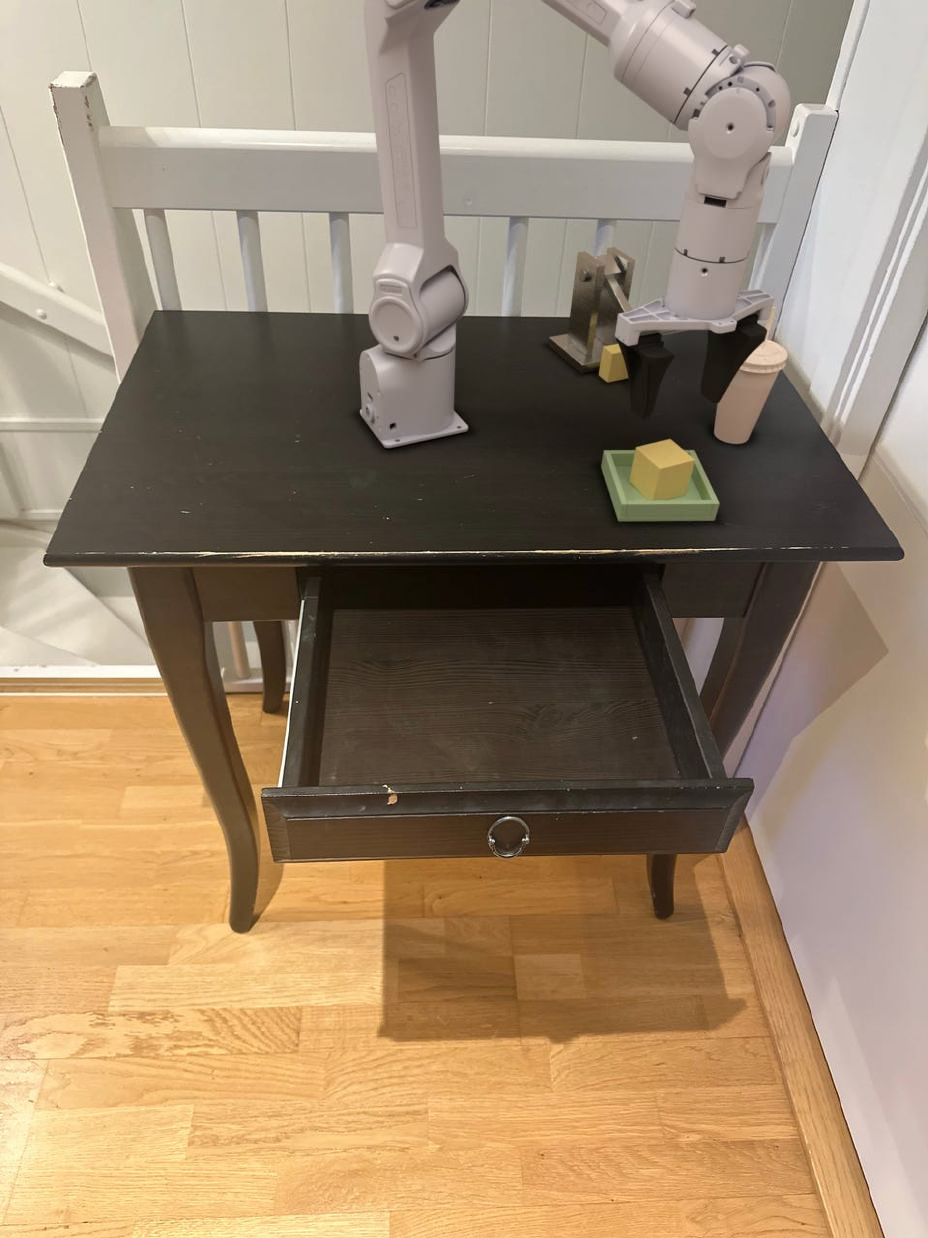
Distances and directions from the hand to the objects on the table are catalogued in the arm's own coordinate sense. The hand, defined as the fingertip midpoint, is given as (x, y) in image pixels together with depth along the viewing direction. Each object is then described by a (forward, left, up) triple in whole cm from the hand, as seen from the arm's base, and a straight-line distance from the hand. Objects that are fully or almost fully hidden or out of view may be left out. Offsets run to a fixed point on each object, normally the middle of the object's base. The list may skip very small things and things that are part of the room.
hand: (675, 406), depth 75 cm
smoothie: (+14, +6, -10) cm, 18 cm away
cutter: (+10, +28, -9) cm, 31 cm away
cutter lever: (+10, +23, -3) cm, 25 cm away
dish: (0, 0, -9) cm, 9 cm away
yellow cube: (0, 0, -9) cm, 9 cm away
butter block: (+10, +22, -9) cm, 26 cm away
